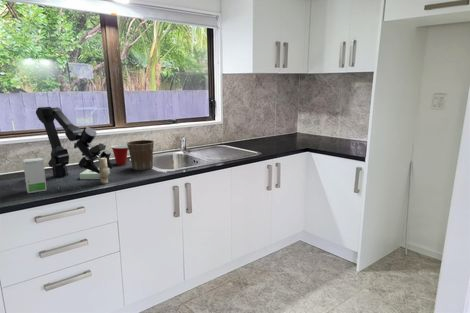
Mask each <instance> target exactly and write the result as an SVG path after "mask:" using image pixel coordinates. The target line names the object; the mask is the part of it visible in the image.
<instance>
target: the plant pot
mask: <svg viewBox="0 0 470 313" xmlns="http://www.w3.org/2000/svg"><path fill="white" fill-rule="evenodd" d="M154 143H155V141H154V140H151V139H140V140H132V141H128V142H126V146H128V152H129V156H130V164H131V168H132V169H133V170H135V171H144V170H150V169H152V168H153V166H154V160H153V159H154Z"/></svg>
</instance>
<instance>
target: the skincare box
mask: <svg viewBox="0 0 470 313" xmlns="http://www.w3.org/2000/svg"><path fill="white" fill-rule="evenodd" d="M22 163H23V164H22V165H23V170H24V171H23V172H24V178H25V180H24V182H25V187H26V188H25V189H26V191H27V193H28V194H31V193H39V192H45V191H48V190H47V179H46V172H45V165H44V159H43V158H42V157H38V158H36V157H35V158H26V159H25V158H24V159H22Z"/></svg>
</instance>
